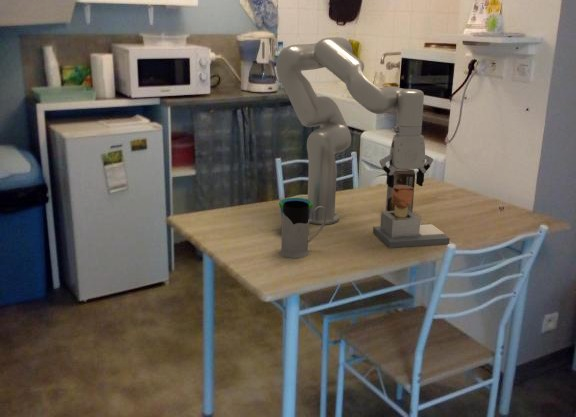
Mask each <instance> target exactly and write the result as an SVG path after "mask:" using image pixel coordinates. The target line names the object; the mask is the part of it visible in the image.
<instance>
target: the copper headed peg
mask: <svg viewBox="0 0 576 417" xmlns="http://www.w3.org/2000/svg"><path fill="white" fill-rule="evenodd" d="M413 190H414V191H415V187H414V188H413V187H411V186H408V185H395V186H394V187H393V190H392V204H394V205H395V212H394V217H396V218H407V212H408V206H410V205H412V200H413V201H414V197H413Z"/></svg>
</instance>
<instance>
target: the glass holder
mask: <svg viewBox="0 0 576 417" xmlns="http://www.w3.org/2000/svg"><path fill="white" fill-rule="evenodd" d="M318 208H324V207H322V206H318V207H316V208H315V209H314V211H313V214H312V219H311V220H308V217H309V204H308V203H306V202H303V201H287V202H284V203H283V213H282V215H281V246H280V250H279V254H280V255H281V256H283V257H284V258H285V257H286V258H288V259H301V258H306V257H307V256H309V255H310V252H309V244H310V242H311V241H312V240H313V239H315V237H316V236H317V235H318V234H319V233H321V231H322V230H323V228H324V227H325V225H326V224H325V222H326V217H327V211H326V209H325V208H324V210H325V219H324V222H323V224H321V226H320V228H318V230H317V231H316V232H315V233H314V234H313V235H312V236H311V237H310V238H309V231H310V230H309V226H310V223H309V222H310V221H312V220H313V219H314V213H315V211H316V210H317V209H318Z"/></svg>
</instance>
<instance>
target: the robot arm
mask: <svg viewBox="0 0 576 417" xmlns="http://www.w3.org/2000/svg"><path fill="white" fill-rule="evenodd" d="M323 68H325V69H327V70H328V72H330V73H332V74H333V75H334V76H335V77H337V78H338V79H340V80H341V81H342V83H344V84H345V86H346V89H347V91H348V93H349V94H350V95H351V98H352V99H354V100H355V101H356V102H357V103H358V104H360V106H362V107H363V108H364V109H366V110H367V111H369V112H370V113H373V114H376V115H382V114H386V113H390V112H396V125H395V127H392V128H391V132H392V133H394V135H393V137H392V141H391V146H390V152H389V154H388V155H387V156H385V157H383V158H381V159H380V160H379V165H380V166H381V169H382V170H383V171H384V172H385V173H386V185H388V186H389V187H390V188H393V187H394V175H393V173H394V172H395V171H396V169H399V170H403V169H409V170H418V171H416V177H415V184H416V185H418V186H420V187H423V184H424V182H425V174H427V171H428V170H429V169H430V168H431V165H432V163H433V161H434V158H433V157H431V156H429V155H428V154H426V146H425V145H426V144H425V136H424V135H422V130H423V127H422V126H423V117H424V116H423V114H424V113H423V112H424V102H425V101H424V100H425V94H424V91H422V90H420V89H416V88H414V89H413V88H401V87H397V86H394V85H393V86H392V85H391V86H385V87H384V86H382V87H378V86H376V85H375V84H374V83H372V82H371V81H370V80H369V79H368V78H367V77H366V76H365V75H364V70H365V69H364V68H365V64H364V62H363V61H362V60H361V59H360V58H358V56H356V55H355V54H354V53H353V47H352V44H351V42H350V41H349V40H348V39H346V38H344V37H340V36H338V37H325V38H321V39H319V41H317V42H315V43H306V44H305V43H303V44H302V43H301V44H300V43H298V44H291V45H288V46H286V47H284V48H283V49H282V50H280V52H279V53H278V55H277V59H276V64H275V71H276V75H277V78H278V80H279V82H280V84H281V85H282V87H283V89H284V91H285V93H286V95H287V97H288V99H289V101H290V103H291V106H292V108H293V109H294V112H295V115H296V117H297V119H298V120H299V122H300V123H301V125H302V126H303V127H306V128H315V127H318V126H319V128H318V129H315V130H313V131H312V132H311V133H310V134H309V135H308V137H307V140H306V151H307V157H308V178H307V179H308V180H307V181H308V182H307V199H308V200H310V201H311V202H312V204H313V206H312V208H311V210H310V216H309V220H311V219H312V214H313V211H314V209H315V208H316V207H318V206H322V207H324V208H325V209H326V211H327V217H326V222H325V224H324V225H331V224H335V223H337V222H338V221H339V220H340V216H339V215H338V213H336V212H335V211H336V192H337V191H336V190H337V174H338V172H337V171H338V168H337V167H338V166H337V162H336V158H335V155H336V154H339V153H342V152H345V151H346V150H348V149H349V148H350V146H351V143H352V135H351V132H350V130H349V127H348V125H347V122H346V120H345V119H344V116H343V114H342V112H341V109H340V108H339V106H338V104H337V103H336V102H335V101H334V100H333V98H331V97H329V96H323V95H322V96H317V94H316V93H315V90H314V89H313V86H312V84H311V83H310V81H309V80H308V79H307V78H306V76H305V75H304V74H303V73H302V71H312V70H317V69H323ZM387 163H388V164H389V166H387ZM324 208H318V209H317V210H316V211H315V213H314V219H313V220H312V221H310V222H309V224H314V225H322V224H323V222H324V219H325V210H324Z"/></svg>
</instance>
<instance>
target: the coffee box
mask: <svg viewBox="0 0 576 417" xmlns="http://www.w3.org/2000/svg"><path fill="white" fill-rule="evenodd" d="M393 175H394V186H395V185H408V186H411V187H413V188H414V190H413V198H414V196H415V184H416V173H415V169H403V170H399V169H396V171H395V172H394V173H393ZM386 185H387V184H386ZM386 188H387V189H386V198H385V199H386V200H385V201H386V202H385V204H386V205H385V211H395V205H394V204H392V190H393V188H390V187H389V186H388V185H387V187H386ZM413 205H414V199H413V200H412V205H410V206H408V210H409V211H410V212H412V213H413V211H414V209H413V208H414V206H413Z"/></svg>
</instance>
